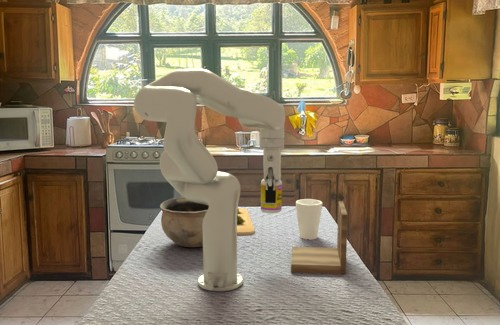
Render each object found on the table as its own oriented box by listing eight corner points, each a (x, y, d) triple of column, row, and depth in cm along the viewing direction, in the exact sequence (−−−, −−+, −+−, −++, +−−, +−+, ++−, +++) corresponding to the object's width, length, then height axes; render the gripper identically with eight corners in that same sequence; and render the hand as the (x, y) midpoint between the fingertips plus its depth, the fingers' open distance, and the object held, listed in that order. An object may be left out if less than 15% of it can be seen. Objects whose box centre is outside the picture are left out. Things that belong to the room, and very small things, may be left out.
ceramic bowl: (235, 248, 171) (235, 205, 169) (174, 259, 161) (173, 213, 159) (208, 231, 191) (208, 192, 188) (153, 240, 180) (151, 199, 178)
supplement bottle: (279, 214, 156) (279, 173, 154) (258, 213, 157) (258, 172, 155) (283, 209, 162) (284, 169, 160) (263, 208, 164) (263, 168, 162)
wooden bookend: (345, 274, 148) (347, 214, 145) (290, 272, 150) (291, 213, 147) (341, 255, 164) (343, 201, 161) (292, 254, 166) (292, 200, 163)
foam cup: (291, 238, 182) (291, 203, 180) (301, 231, 190) (301, 198, 188) (316, 242, 178) (317, 206, 175) (325, 235, 186) (326, 200, 184)
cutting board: (192, 213, 219) (192, 196, 218) (246, 212, 221) (246, 195, 220) (191, 238, 185) (191, 218, 184) (255, 236, 187) (255, 216, 186)
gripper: (282, 147, 148) (282, 206, 150) (285, 140, 165) (284, 194, 167) (257, 146, 148) (256, 206, 151) (261, 140, 165) (261, 193, 168)
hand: (271, 199), depth 159 cm, fingers closed on supplement bottle, 6 cm apart
